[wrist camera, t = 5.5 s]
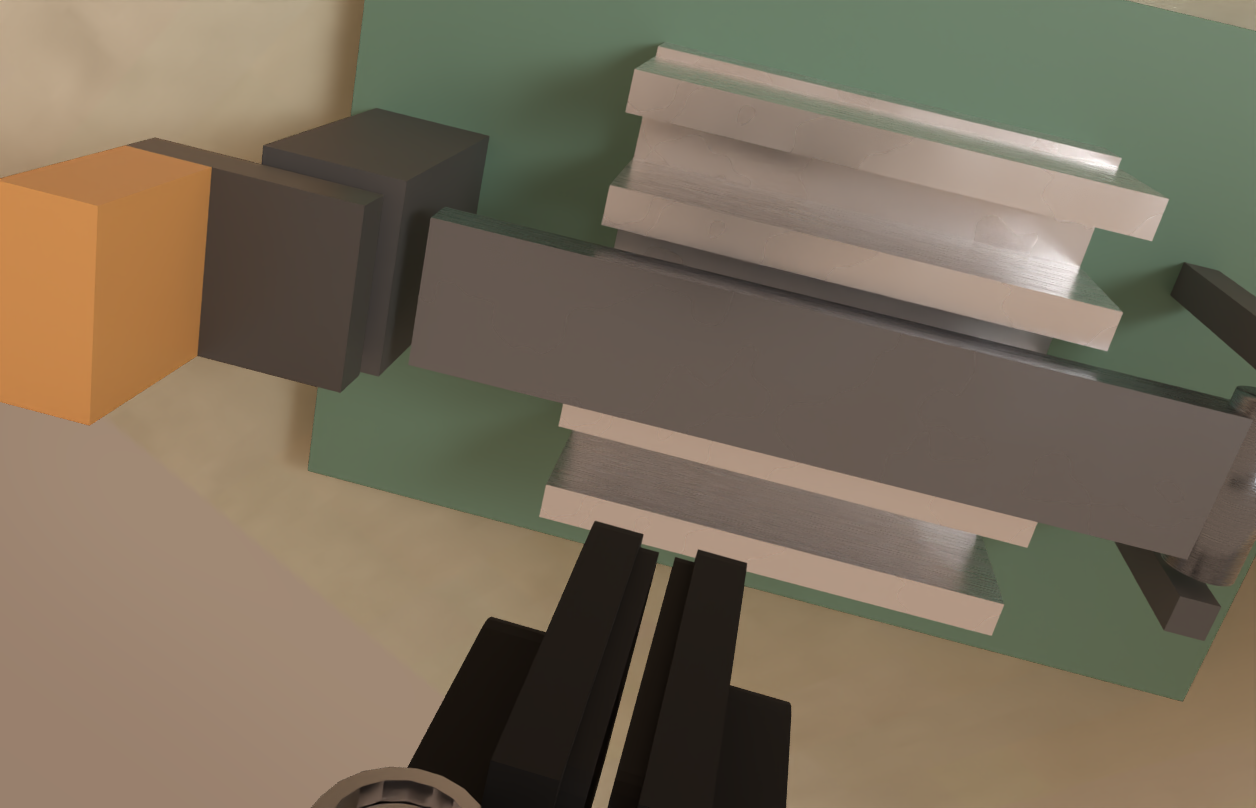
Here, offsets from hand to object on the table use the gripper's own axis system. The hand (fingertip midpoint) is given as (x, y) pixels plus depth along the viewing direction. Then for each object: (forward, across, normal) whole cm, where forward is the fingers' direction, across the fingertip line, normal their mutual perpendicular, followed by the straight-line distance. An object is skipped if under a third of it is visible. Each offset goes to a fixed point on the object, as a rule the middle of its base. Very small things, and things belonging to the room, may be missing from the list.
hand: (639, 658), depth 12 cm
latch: (+9, +9, 0) cm, 13 cm away
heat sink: (+17, -2, 0) cm, 17 cm away
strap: (+11, -2, 0) cm, 12 cm away
